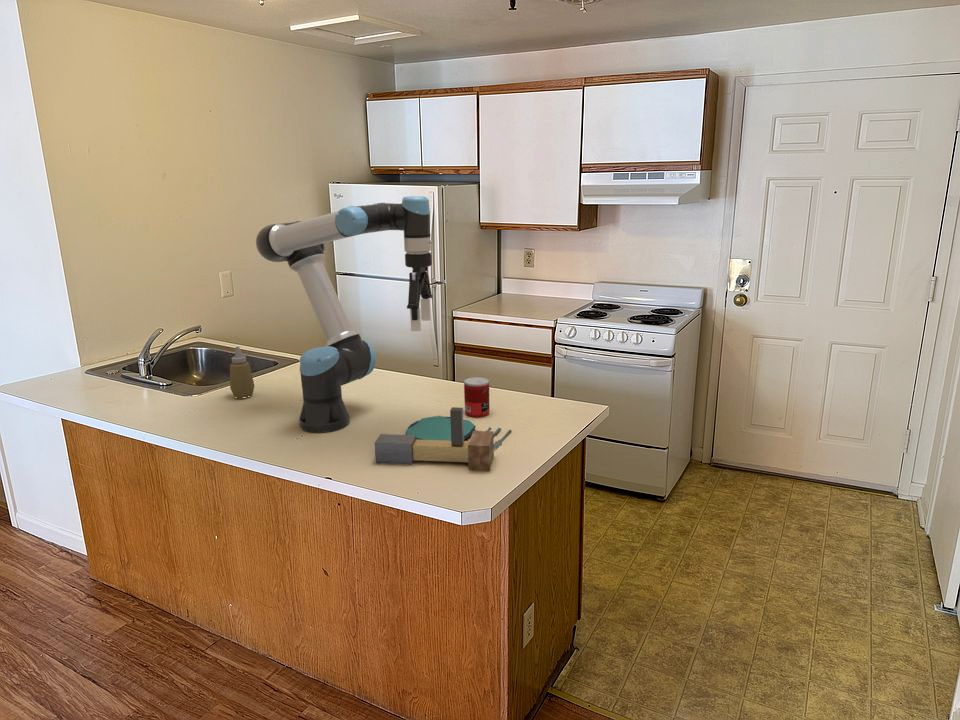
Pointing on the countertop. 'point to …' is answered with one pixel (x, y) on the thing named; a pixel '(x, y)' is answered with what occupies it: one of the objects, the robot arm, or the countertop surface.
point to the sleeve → (394, 449)
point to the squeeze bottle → (241, 376)
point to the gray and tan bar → (444, 443)
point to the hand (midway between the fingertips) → (421, 325)
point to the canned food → (476, 396)
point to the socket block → (481, 450)
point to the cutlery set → (443, 429)
